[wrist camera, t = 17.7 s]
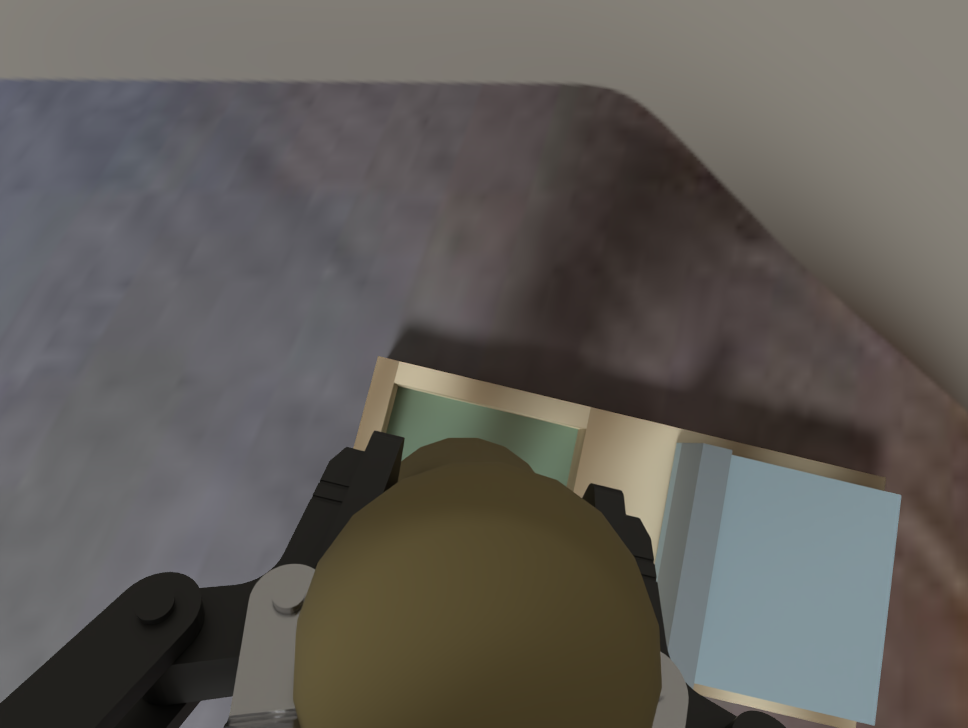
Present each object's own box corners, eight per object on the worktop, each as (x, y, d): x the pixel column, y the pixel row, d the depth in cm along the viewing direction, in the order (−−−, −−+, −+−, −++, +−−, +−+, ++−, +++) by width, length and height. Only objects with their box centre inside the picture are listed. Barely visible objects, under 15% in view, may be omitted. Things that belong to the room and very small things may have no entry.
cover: (890, 493, 24) (943, 500, 22) (863, 718, 23) (917, 755, 20) (676, 442, 24) (703, 442, 21) (636, 664, 23) (660, 694, 20)
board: (854, 474, 27) (885, 477, 25) (823, 708, 25) (855, 731, 23) (384, 362, 26) (378, 356, 24) (323, 590, 25) (311, 603, 23)
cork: (385, 423, 17) (279, 396, 6) (568, 452, 18) (758, 472, 7) (350, 617, 16) (158, 963, 6) (542, 645, 17) (715, 1027, 6)
